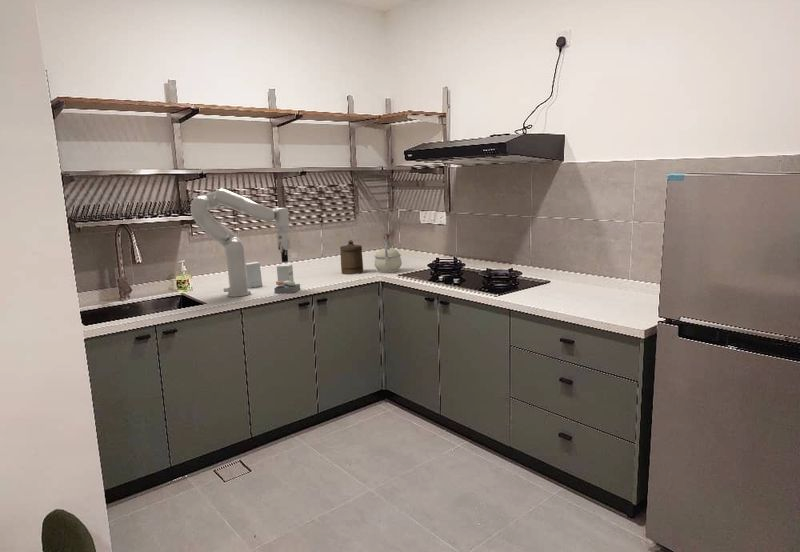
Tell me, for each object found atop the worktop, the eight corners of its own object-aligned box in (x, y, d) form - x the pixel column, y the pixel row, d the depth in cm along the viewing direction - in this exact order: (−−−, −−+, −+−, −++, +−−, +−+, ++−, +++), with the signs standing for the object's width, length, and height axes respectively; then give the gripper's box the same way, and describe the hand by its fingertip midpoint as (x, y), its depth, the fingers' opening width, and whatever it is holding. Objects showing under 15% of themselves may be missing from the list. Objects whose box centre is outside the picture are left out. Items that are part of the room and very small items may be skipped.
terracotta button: (275, 284, 292) (274, 282, 292) (277, 283, 296) (277, 280, 296) (282, 284, 292) (281, 281, 292) (284, 283, 296) (284, 280, 296)
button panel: (274, 293, 293) (274, 287, 292) (281, 289, 304) (281, 283, 304) (293, 293, 291) (293, 287, 291) (300, 288, 303) (299, 283, 303)
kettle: (376, 269, 364) (374, 233, 360) (402, 268, 363) (400, 232, 359) (373, 275, 340) (370, 237, 336) (401, 274, 339) (399, 235, 335)
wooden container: (365, 270, 363) (363, 239, 359) (360, 274, 348) (358, 241, 345) (344, 271, 365) (342, 239, 361) (339, 274, 350) (336, 242, 347)
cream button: (282, 284, 299) (282, 282, 299) (285, 283, 303) (284, 280, 303) (289, 284, 299) (289, 281, 298) (291, 283, 303) (291, 280, 302)
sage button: (286, 286, 294) (286, 283, 294) (289, 284, 298) (288, 282, 298) (293, 285, 293) (293, 283, 293) (295, 284, 297) (295, 281, 297)
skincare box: (260, 285, 324) (257, 261, 321) (262, 286, 319) (260, 262, 316) (246, 287, 320) (244, 263, 317) (248, 288, 315) (246, 263, 312)
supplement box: (289, 286, 313) (287, 265, 311) (278, 287, 314) (276, 266, 312) (294, 284, 320) (292, 264, 318) (283, 284, 321) (281, 264, 319)
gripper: (284, 230, 288) (287, 263, 291) (293, 228, 303) (295, 260, 306) (271, 230, 289) (274, 263, 292) (280, 229, 304) (282, 260, 307)
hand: (285, 261), depth 299 cm, fingers closed
